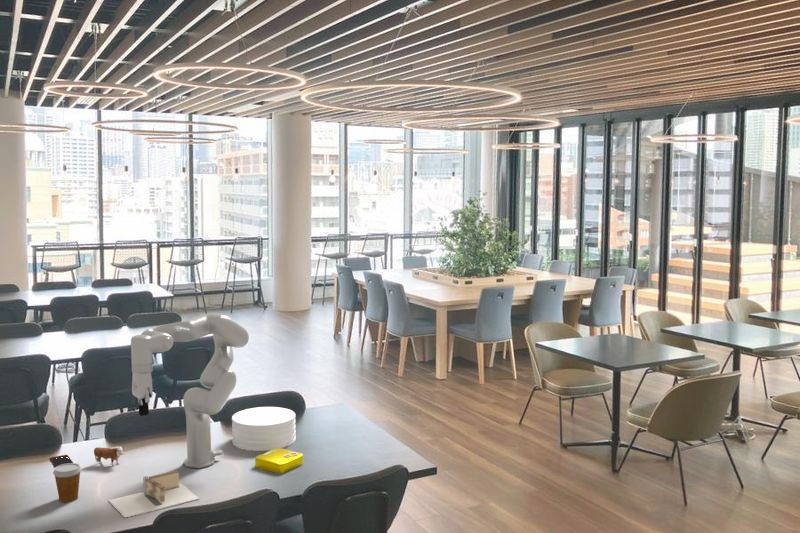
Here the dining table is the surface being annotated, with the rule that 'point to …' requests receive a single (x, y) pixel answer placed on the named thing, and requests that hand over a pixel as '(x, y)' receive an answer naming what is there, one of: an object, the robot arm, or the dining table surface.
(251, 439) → the plate stack
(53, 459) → the smartphone
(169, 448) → the dining table surface
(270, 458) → the element tile
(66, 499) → the disposable coffee cup
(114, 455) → the bull figurine
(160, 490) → the fence panel
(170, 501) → the card
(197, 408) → the robot arm
